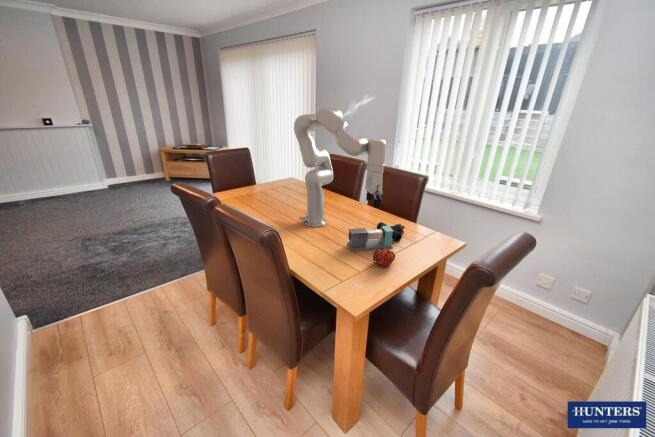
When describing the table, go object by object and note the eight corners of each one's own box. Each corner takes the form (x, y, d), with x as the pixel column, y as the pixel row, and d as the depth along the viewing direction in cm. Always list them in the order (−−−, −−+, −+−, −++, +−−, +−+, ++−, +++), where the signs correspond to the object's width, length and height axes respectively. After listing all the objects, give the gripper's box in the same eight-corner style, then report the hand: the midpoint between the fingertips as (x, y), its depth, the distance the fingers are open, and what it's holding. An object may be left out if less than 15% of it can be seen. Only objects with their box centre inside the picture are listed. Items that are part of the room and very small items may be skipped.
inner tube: (352, 240, 132) (353, 234, 130) (350, 237, 135) (351, 231, 134) (382, 238, 135) (383, 232, 133) (379, 235, 138) (380, 229, 136)
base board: (351, 252, 132) (351, 249, 131) (347, 244, 139) (347, 241, 138) (392, 248, 135) (392, 246, 135) (386, 240, 143) (386, 238, 142)
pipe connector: (393, 218, 156) (412, 229, 144) (392, 227, 158) (410, 238, 146) (377, 222, 151) (394, 234, 139) (376, 231, 154) (393, 243, 141)
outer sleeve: (351, 248, 132) (351, 233, 129) (348, 243, 137) (349, 229, 134) (366, 247, 134) (368, 232, 131) (363, 242, 138) (364, 227, 135)
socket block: (384, 246, 135) (386, 231, 132) (380, 240, 141) (381, 226, 137) (391, 245, 136) (393, 231, 132) (386, 239, 141) (388, 225, 138)
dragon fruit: (369, 269, 121) (390, 267, 126) (380, 267, 114) (403, 265, 119) (366, 250, 123) (388, 248, 128) (377, 247, 116) (399, 245, 121)
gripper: (361, 164, 130) (359, 198, 137) (374, 172, 115) (372, 210, 121) (376, 163, 132) (373, 197, 138) (391, 171, 116) (387, 209, 123)
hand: (373, 203), depth 130 cm, fingers open, 9 cm apart
